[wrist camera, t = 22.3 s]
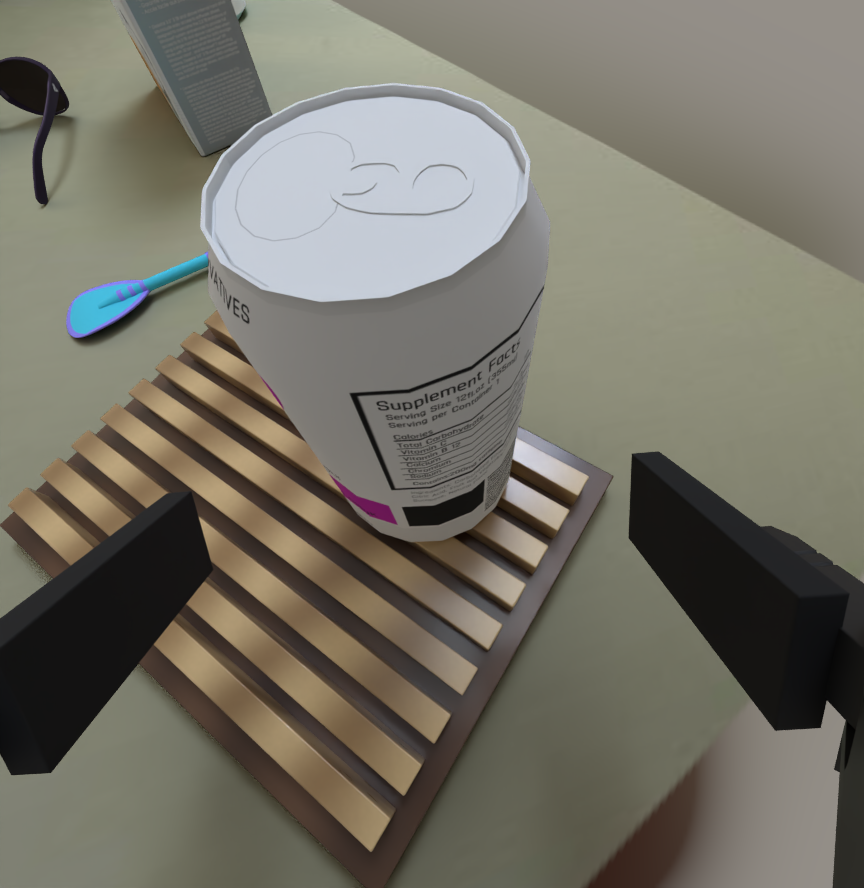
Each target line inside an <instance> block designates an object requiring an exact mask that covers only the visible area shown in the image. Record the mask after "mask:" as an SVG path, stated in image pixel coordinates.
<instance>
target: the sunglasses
mask: <svg viewBox="0 0 864 888" xmlns="http://www.w3.org/2000/svg"><path fill="white" fill-rule="evenodd" d="M0 95H1V96H2V97H3V98H4V99H5V100H6V101H8V102H9V103H11V104H13V105H15V106H17V107H19V108H21V109H23V110H26V111H28V112H31V113H34V114H38V115H43V120H42V123H41V126H40V129H39V131H38V134H37V137H36V140H35V144H34V149H33V180H34V190H35V196H36V199H37V201H38V202H39V203H40V204H47V202H48V197H47V192H46V186H45V181H44V175H43V169H42V152H43V148H44V145H45V142H46V139H47V136H48V134H49V131H50V128H51V125H52V122H53V119H54V115H58V114H61V113H63V112H65V111H66V110H67V109H68V107H69V101H68V98H67V96H66V94H65V92H64V90H63V89H62V87H61V85H60V83H59V81H58V80H57V79H56V77H55V76H54V74H53V73H52V71H51V70H50V69H48V68H47V67H46V66H45V65H43V64H42V63H40V62H38V61H35V60H33V59H30V58H25V57H9V58H5V59H3V60H0ZM63 109H64V110H63ZM61 110H62V111H61Z"/></svg>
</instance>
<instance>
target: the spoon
mask: <svg viewBox="0 0 864 888" xmlns="http://www.w3.org/2000/svg"><path fill="white" fill-rule="evenodd" d="M207 266H208V252H206V253H205V254H204V255H201V256H199V257H197V258H194V259H192V260H189V261H187V262H185V263H182V264H180V265H178V266H175V267H173V268H171V269H168V270H166V271H164V272H161V273H159V274H157V275H154V276H152V277H150V278H147V279H145V280H126V281H118V282H113V283H109V284H104V285H101V286H98V287H95V288H92V289H89V290H87V291H85V292H83V293H81V294H80V295H79V296H77V297H76V298H75V299H74V300H73V302H72V303H71V305H70V307H69V310H68V313H67V329H68V332H69V334H70V335H71V336H73V337H76V338H82V337H86V336H88V335H90V334H93V333H95V332H97V331H99V330H101V329H103V328H105V327H107V326H109V325H111V324H112V323H114V322H116V321H117V320H119V319H121V318H122V317H124V316H125V315H126V314H128V313H129V312H130V311H132V310H133V309H134V308H135V307H137V306H138V305H139V304H140V303H141V302H142V301H143V300H144V299H145V298H146V296H147V295H148V293H149V292H151V291H152V290H154V289H156V288H159V287H161V286H163V285H166V284H168V283H170V282H173V281H175V280H177V279H180V278H182V277H184V276H186V275H189V274H191V273H193V272H196V271H198V270H200V269H203V268H205V267H207Z"/></svg>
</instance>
